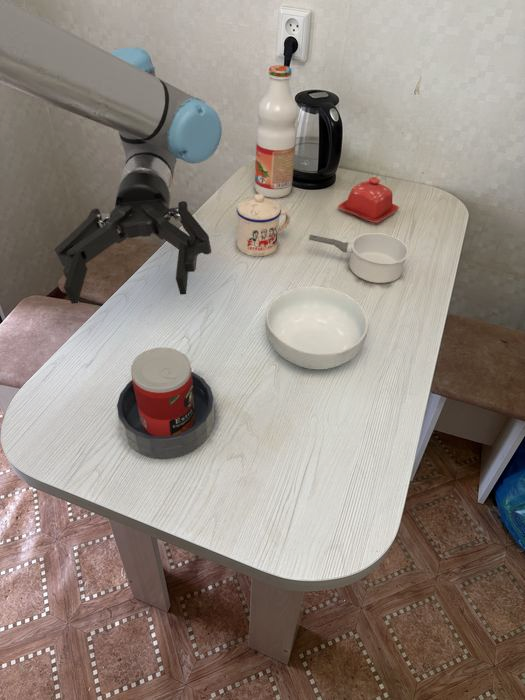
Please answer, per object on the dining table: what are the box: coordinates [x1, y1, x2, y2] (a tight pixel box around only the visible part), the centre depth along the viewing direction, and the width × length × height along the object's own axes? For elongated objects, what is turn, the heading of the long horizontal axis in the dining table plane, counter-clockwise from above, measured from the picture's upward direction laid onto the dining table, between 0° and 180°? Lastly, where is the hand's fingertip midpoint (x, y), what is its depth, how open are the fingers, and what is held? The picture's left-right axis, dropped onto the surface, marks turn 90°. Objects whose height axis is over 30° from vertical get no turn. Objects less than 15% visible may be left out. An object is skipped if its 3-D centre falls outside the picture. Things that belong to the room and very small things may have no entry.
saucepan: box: [308, 232, 410, 284], centre depth 103 cm, size 12×20×6 cm, turn 76°
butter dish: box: [337, 176, 400, 224], centre depth 119 cm, size 12×12×8 cm
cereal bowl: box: [264, 285, 369, 370], centre depth 84 cm, size 17×17×7 cm
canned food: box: [130, 347, 195, 436], centre depth 70 cm, size 8×8×11 cm
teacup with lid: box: [235, 193, 291, 257], centre depth 105 cm, size 12×9×12 cm
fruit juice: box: [254, 64, 299, 199], centre depth 119 cm, size 9×9×28 cm
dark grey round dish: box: [116, 371, 215, 460], centre depth 72 cm, size 13×13×4 cm
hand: (125, 291), depth 61 cm, fingers open, 13 cm apart
